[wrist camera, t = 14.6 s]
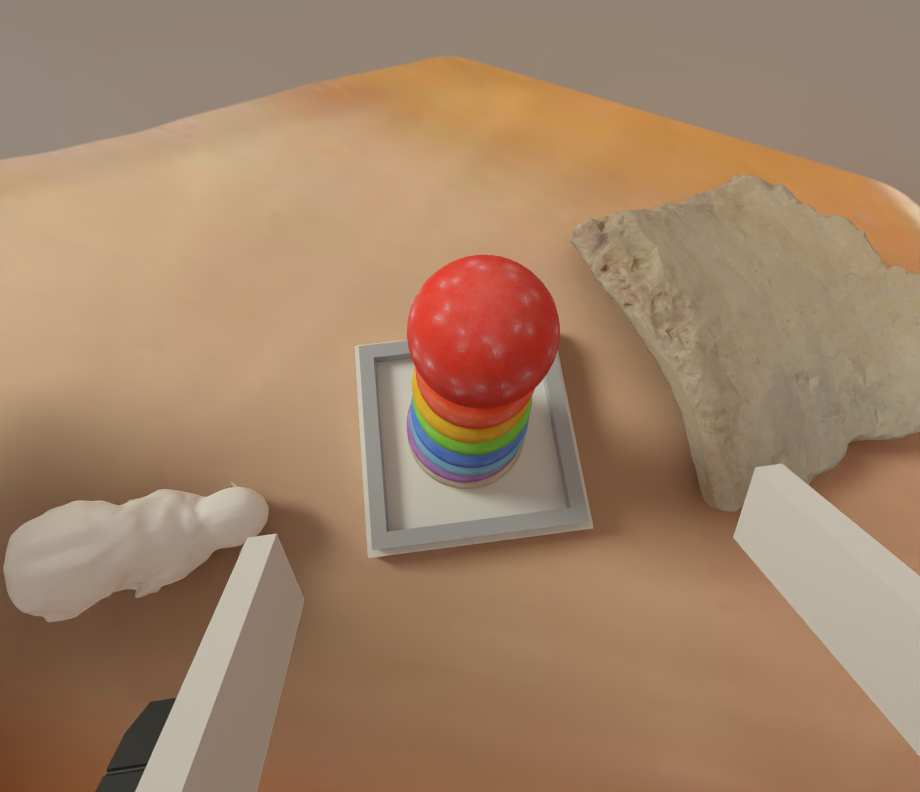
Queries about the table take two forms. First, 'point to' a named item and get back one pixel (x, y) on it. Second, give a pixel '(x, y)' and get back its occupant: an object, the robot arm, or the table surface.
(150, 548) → the lumpy white figurine
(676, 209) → the tablet
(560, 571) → the table surface
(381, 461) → the tray
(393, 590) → the table surface
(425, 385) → the stacking toy
